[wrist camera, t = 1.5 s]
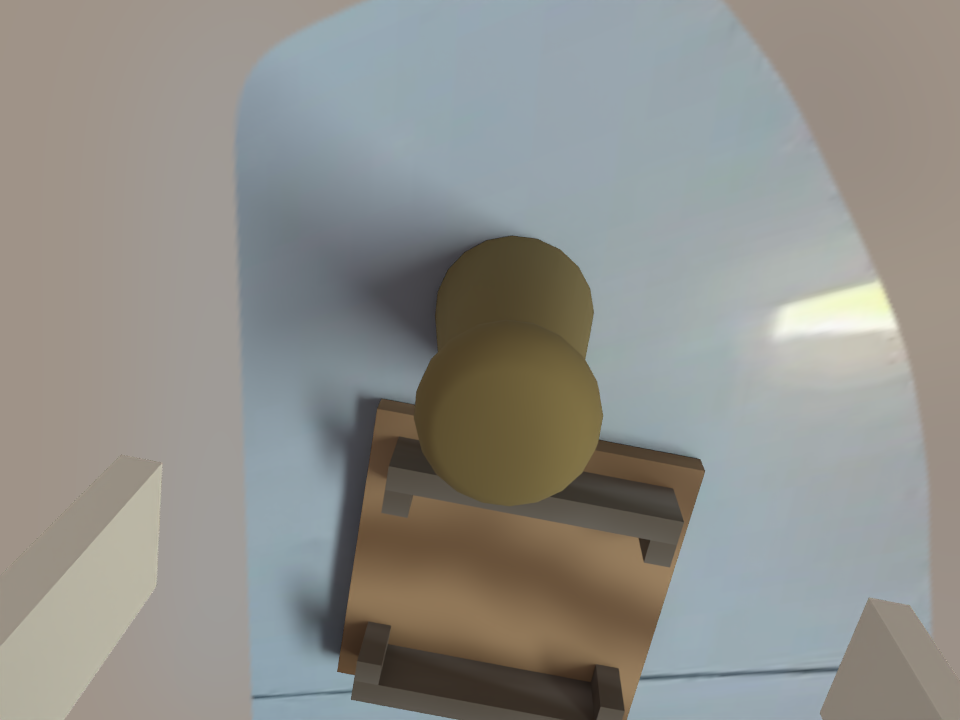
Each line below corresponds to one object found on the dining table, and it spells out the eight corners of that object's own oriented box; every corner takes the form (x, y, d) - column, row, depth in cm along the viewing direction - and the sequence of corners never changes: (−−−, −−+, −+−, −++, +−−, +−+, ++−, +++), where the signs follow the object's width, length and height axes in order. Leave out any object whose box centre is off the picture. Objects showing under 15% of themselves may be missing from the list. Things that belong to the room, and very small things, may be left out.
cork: (418, 363, 33) (367, 508, 23) (458, 215, 31) (422, 301, 20) (565, 405, 33) (581, 566, 23) (615, 261, 31) (657, 368, 21)
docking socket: (622, 708, 38) (630, 770, 35) (341, 656, 38) (324, 713, 35) (700, 459, 34) (718, 503, 30) (381, 398, 33) (365, 436, 30)
